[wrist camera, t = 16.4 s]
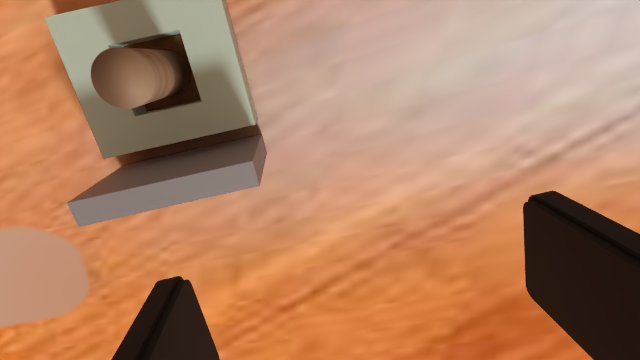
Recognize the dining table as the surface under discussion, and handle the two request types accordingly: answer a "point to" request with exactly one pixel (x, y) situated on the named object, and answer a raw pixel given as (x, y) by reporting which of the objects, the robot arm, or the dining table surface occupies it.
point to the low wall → (172, 180)
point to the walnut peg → (138, 75)
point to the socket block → (148, 24)
